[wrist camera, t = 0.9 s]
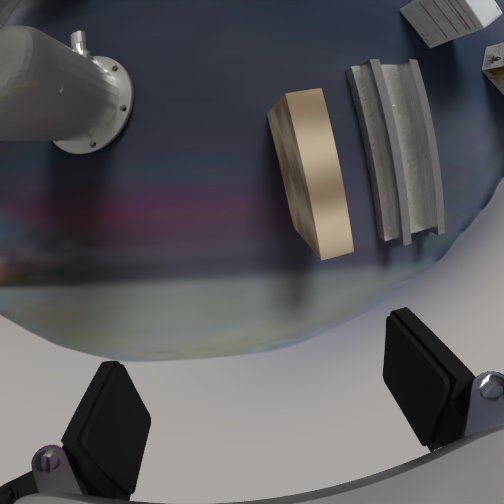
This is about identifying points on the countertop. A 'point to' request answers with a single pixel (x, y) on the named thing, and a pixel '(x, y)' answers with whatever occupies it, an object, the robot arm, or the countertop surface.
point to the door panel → (311, 172)
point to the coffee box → (495, 65)
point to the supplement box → (449, 18)
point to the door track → (399, 148)
